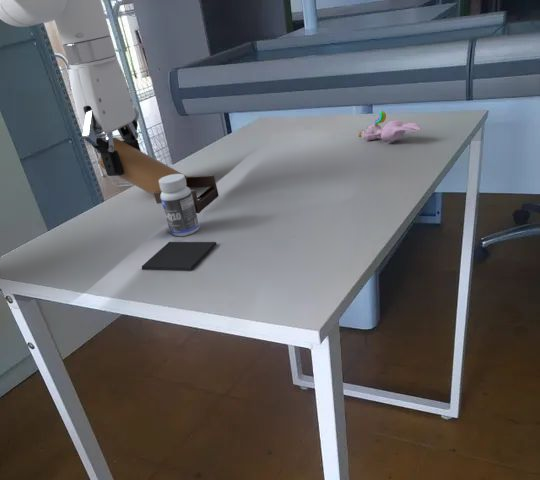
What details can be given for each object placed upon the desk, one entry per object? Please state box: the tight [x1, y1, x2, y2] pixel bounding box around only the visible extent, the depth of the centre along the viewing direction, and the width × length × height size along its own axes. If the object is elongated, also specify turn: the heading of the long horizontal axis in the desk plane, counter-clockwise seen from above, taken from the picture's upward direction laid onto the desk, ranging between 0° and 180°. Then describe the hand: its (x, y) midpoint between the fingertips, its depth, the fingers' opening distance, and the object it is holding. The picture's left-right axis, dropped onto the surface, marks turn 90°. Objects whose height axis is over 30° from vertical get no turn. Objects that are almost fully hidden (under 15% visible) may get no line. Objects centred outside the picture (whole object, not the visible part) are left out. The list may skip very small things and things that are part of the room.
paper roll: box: [99, 137, 187, 196], centre depth 95 cm, size 14×6×6 cm
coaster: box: [141, 241, 217, 272], centre depth 78 cm, size 8×8×1 cm
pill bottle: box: [159, 173, 200, 237], centre depth 84 cm, size 5×5×8 cm
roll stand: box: [153, 174, 219, 214], centre depth 95 cm, size 8×8×4 cm
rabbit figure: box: [357, 110, 422, 144], centre depth 105 cm, size 6×6×15 cm
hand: (125, 167), depth 96 cm, fingers closed on paper roll, 5 cm apart
